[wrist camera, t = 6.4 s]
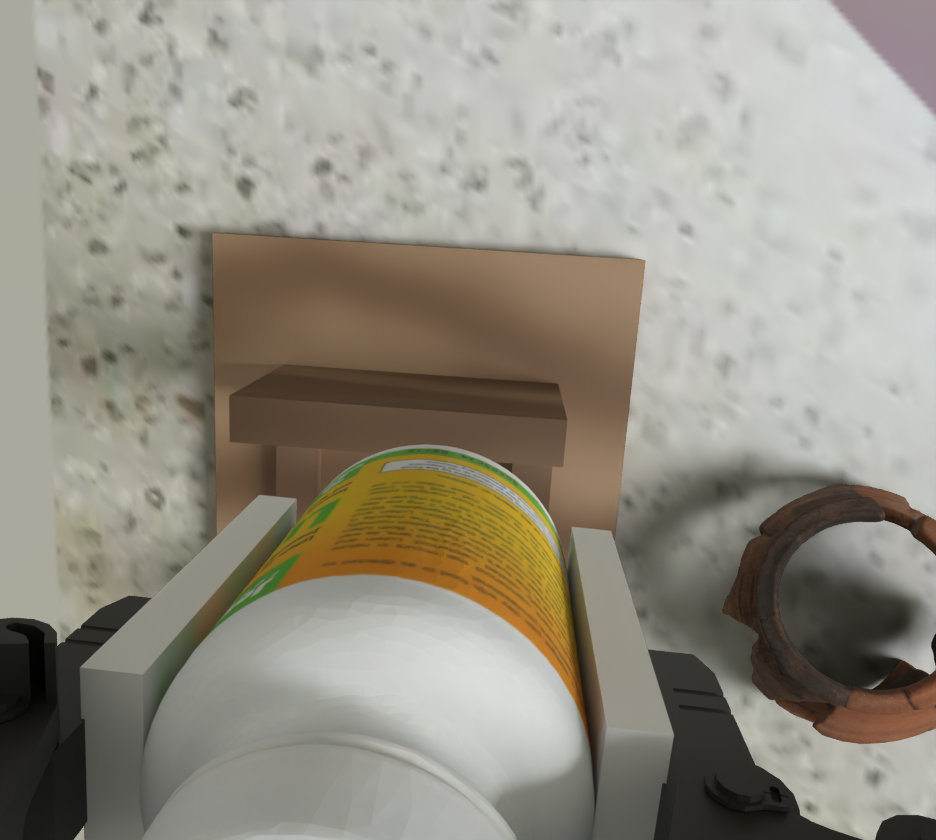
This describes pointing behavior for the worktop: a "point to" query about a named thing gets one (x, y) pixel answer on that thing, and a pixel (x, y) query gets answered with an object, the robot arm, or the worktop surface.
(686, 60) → the worktop surface
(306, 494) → the wooden cradle tray
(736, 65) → the worktop surface
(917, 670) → the pottery mug
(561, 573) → the supplement bottle
